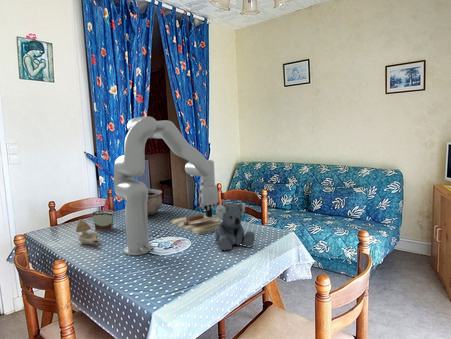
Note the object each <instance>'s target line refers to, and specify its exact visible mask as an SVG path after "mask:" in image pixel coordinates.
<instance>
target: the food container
mask: <svg viewBox="0 0 451 339" xmlns="http://www.w3.org/2000/svg"><path fill="white" fill-rule="evenodd" d="M91 216H92V219H93V224H94V230H95V231H113V228H114V216H115V211H114V210H112V209H102V210H101V209H100V210H96V211H92V213H91Z"/></svg>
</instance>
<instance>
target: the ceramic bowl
mask: <svg viewBox="0 0 451 339" xmlns="http://www.w3.org/2000/svg"><path fill="white" fill-rule="evenodd" d="M147 189H148V199H147V216H150V215H153V214H156V213H157V212H158V211H159V210H160V208H161V207H162V204H163V199H162V193H163V191H162V190H161V189H154V188H147Z"/></svg>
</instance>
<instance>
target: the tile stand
mask: <svg viewBox="0 0 451 339" xmlns="http://www.w3.org/2000/svg"><path fill="white" fill-rule="evenodd" d="M202 218H207V216H206V215H204V214H203V213H196V214H192V215H187V216H182V217H177V218H175V219H170V220H169V221H170V224H172V225H175V226H177V227H180V228H183V229H185V230H187V231H189V232H191V231H192V232H191V233H194V234H196V233H197V234H196V235H198V234H200V235H203V234H202V233H204V234H206V233H205V232H208V233H210V232H209V231H211V232H213V231H212V230H215V229H218V226H219V224H220V223H221V222H223V220H222V221H221V220H220V219H213V220H209V221H204V222H200V223H195V224H188V222H189V221H194V220H198V219H202ZM215 231H216V230H215Z"/></svg>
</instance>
